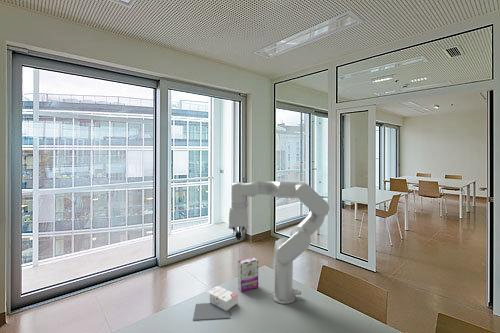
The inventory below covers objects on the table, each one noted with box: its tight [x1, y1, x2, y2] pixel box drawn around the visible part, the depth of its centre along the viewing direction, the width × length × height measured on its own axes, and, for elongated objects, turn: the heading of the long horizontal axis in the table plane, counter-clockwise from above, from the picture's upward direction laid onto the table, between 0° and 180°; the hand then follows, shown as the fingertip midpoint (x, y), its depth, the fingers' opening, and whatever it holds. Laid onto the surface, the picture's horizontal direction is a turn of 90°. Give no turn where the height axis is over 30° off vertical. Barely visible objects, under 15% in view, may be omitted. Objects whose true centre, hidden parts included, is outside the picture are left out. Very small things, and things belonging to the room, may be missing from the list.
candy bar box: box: [237, 256, 259, 293], centre depth 147 cm, size 11×5×16 cm, turn 117°
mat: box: [192, 302, 231, 322], centre depth 124 cm, size 17×13×1 cm
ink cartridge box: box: [206, 285, 238, 311], centre depth 132 cm, size 9×5×15 cm
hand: (238, 239), depth 137 cm, fingers closed
